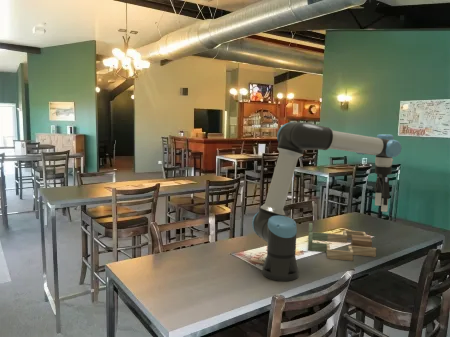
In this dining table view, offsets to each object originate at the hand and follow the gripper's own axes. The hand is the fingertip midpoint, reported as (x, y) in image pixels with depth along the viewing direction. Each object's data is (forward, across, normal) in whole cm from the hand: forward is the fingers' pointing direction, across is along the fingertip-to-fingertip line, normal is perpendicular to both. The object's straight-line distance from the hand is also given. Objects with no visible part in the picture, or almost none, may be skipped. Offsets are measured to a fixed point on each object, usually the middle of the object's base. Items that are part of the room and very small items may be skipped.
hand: (380, 208), depth 178 cm
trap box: (+21, 0, +19) cm, 28 cm away
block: (+22, 0, +8) cm, 23 cm away
